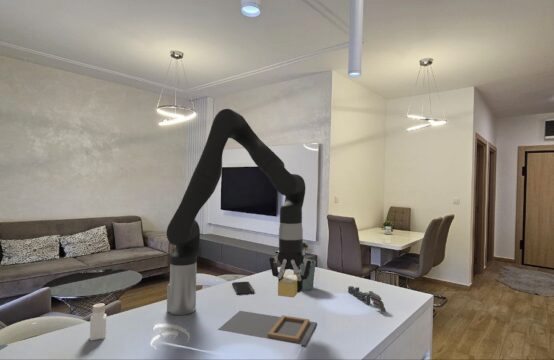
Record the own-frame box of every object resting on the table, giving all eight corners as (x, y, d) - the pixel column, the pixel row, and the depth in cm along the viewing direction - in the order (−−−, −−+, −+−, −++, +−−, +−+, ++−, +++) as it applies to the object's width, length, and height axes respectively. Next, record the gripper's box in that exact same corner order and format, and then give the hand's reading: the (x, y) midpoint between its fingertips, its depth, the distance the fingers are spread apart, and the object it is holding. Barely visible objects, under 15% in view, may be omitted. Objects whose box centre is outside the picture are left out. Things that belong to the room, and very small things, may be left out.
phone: (248, 281, 150) (255, 291, 135) (248, 283, 149) (255, 294, 135) (231, 282, 147) (236, 293, 133) (231, 285, 147) (236, 295, 133)
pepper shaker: (91, 335, 96) (92, 303, 96) (106, 333, 98) (107, 301, 98) (89, 341, 92) (90, 308, 92) (105, 339, 94) (106, 306, 94)
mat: (217, 331, 100) (217, 326, 100) (239, 312, 115) (239, 307, 115) (305, 346, 91) (305, 341, 91) (316, 324, 106) (316, 319, 106)
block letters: (386, 315, 115) (386, 299, 115) (382, 315, 114) (382, 299, 114) (351, 292, 139) (351, 279, 139) (348, 292, 138) (348, 279, 138)
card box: (287, 285, 107) (287, 273, 107) (302, 287, 105) (302, 275, 105) (277, 295, 97) (278, 282, 97) (293, 297, 96) (293, 283, 96)
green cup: (288, 285, 146) (289, 259, 146) (308, 283, 150) (308, 257, 150) (299, 292, 137) (300, 264, 137) (319, 289, 141) (320, 262, 141)
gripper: (315, 236, 103) (315, 289, 102) (273, 234, 107) (272, 285, 107) (310, 240, 96) (310, 297, 95) (265, 237, 100) (264, 292, 100)
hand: (290, 290), depth 101 cm, fingers closed on card box, 5 cm apart
